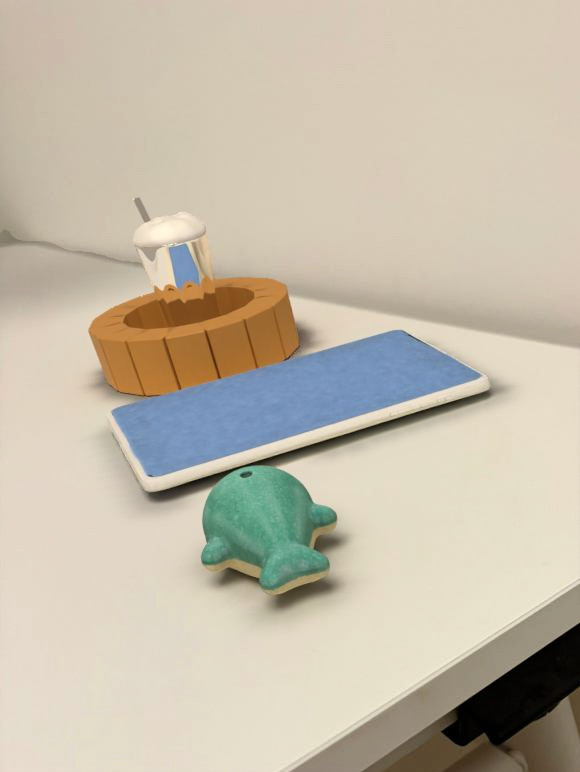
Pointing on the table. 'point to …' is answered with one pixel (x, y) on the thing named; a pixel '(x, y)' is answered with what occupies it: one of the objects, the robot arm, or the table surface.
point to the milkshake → (178, 266)
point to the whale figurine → (265, 528)
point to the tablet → (286, 406)
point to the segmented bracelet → (195, 339)
